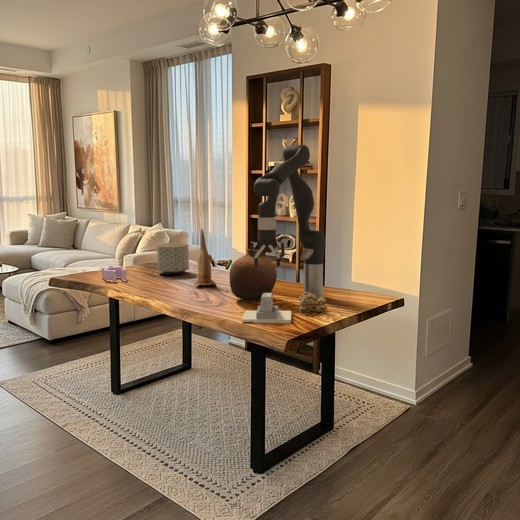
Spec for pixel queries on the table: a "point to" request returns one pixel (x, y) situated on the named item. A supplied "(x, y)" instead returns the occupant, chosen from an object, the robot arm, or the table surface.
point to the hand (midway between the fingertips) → (267, 266)
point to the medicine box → (267, 302)
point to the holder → (267, 316)
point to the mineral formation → (311, 303)
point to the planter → (173, 258)
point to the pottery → (252, 277)
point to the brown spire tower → (204, 265)
